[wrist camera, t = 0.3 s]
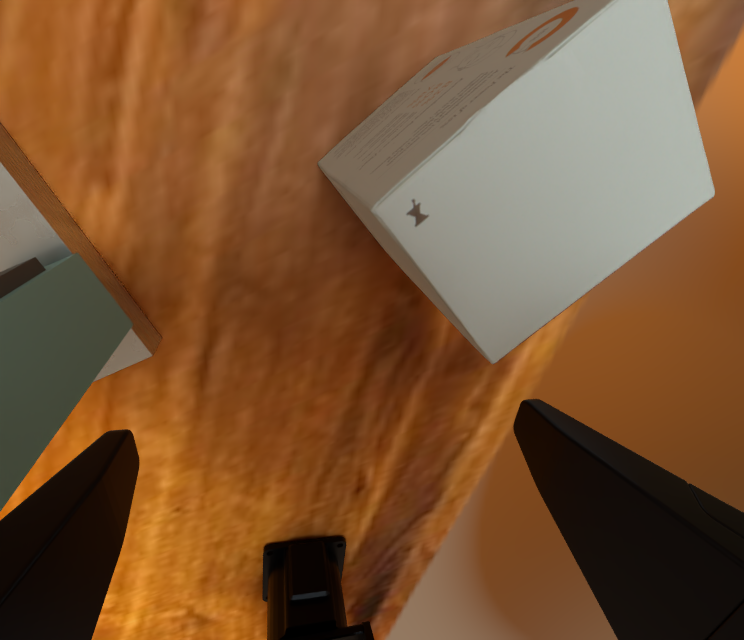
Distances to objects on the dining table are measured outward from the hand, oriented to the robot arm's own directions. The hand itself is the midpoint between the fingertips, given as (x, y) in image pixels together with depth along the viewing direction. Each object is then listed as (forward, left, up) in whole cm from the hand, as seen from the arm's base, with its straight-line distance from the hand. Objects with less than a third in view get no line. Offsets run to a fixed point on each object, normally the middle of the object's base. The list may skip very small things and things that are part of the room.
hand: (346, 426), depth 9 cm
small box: (+5, -5, -15) cm, 17 cm away
